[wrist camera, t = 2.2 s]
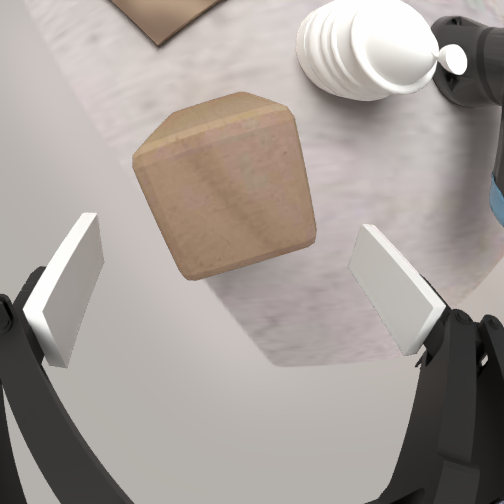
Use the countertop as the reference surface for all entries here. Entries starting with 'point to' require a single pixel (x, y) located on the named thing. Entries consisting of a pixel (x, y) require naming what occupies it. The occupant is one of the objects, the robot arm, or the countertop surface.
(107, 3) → the countertop surface
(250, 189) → the wooden block
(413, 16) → the honey pot
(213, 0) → the walnut board
